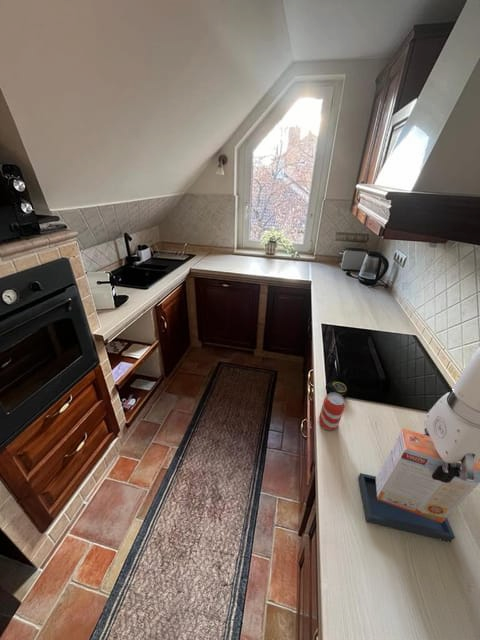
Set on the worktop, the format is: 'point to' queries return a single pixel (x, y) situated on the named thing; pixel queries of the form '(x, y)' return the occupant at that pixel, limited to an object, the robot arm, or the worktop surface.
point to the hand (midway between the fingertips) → (432, 462)
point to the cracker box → (420, 479)
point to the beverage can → (331, 411)
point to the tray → (398, 514)
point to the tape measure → (337, 388)
